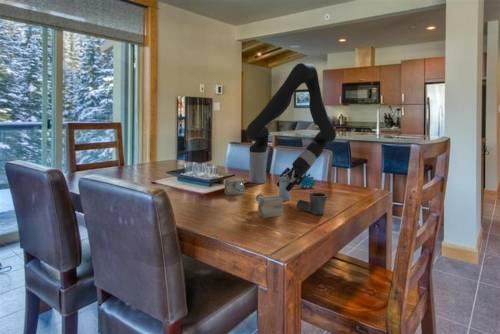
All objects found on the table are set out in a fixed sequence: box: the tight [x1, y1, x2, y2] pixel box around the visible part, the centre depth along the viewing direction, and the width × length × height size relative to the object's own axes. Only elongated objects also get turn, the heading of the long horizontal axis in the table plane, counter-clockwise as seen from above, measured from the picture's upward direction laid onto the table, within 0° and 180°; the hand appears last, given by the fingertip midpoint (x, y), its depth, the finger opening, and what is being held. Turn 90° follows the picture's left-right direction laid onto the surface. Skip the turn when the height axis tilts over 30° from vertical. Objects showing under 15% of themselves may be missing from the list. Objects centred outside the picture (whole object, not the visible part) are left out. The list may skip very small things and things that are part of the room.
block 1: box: [224, 177, 245, 196], centre depth 171 cm, size 5×8×7 cm, turn 114°
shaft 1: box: [233, 182, 246, 193], centre depth 165 cm, size 7×4×4 cm, turn 24°
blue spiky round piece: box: [298, 172, 318, 190], centre depth 187 cm, size 11×6×10 cm
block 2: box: [257, 194, 284, 219], centre depth 137 cm, size 5×8×7 cm, turn 114°
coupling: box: [278, 176, 292, 202], centre depth 160 cm, size 5×5×10 cm
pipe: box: [296, 192, 328, 216], centre depth 140 cm, size 6×13×8 cm, turn 51°
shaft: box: [255, 193, 265, 203], centre depth 142 cm, size 7×4×4 cm, turn 24°
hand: (282, 188), depth 160 cm, fingers open, 8 cm apart
